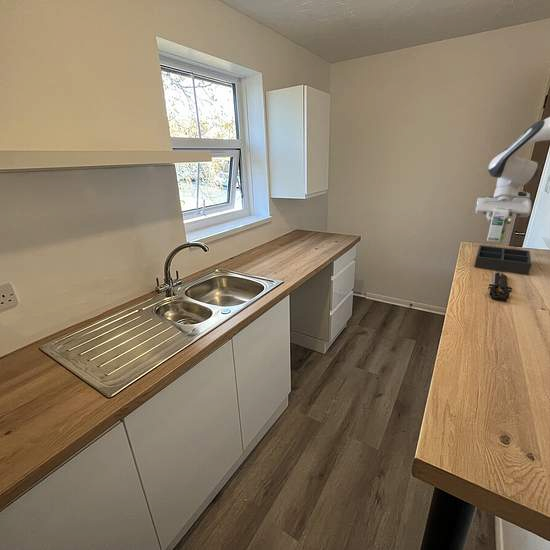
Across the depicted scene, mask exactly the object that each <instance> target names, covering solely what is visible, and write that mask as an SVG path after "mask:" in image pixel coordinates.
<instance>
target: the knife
mask: <svg viewBox="0 0 550 550" xmlns="http://www.w3.org/2000/svg"><path fill="white" fill-rule="evenodd" d="M499 288H500V289H501V290H499ZM488 289H490V290H489V296H490V299H491V300H495V301H500V302H501V301H503V302H506V301H508V299H509V298H510V293H512V290H513V287H511V286H508V275H506V274H504V273H501V271H498V272H495V273H493V280H492V283H489V284H488Z"/></svg>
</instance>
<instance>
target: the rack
mask: <svg viewBox="0 0 550 550" xmlns="http://www.w3.org/2000/svg"><path fill="white" fill-rule="evenodd" d="M531 267H532V258H531V252H530V250H527V249H526V250H525V249H517V248H516V249H515V248H508V247H507V248H506V247H498V246H497V247H496V246H489V245H481V244H480V245H479V246H478V250H477V253H476V256H475V261H474V267H473V268H476V269H483V270H491V271H497V272H503V273H510V274H518V275H523V276H529V273H530V270H531Z"/></svg>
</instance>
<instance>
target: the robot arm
mask: <svg viewBox="0 0 550 550" xmlns="http://www.w3.org/2000/svg"><path fill="white" fill-rule="evenodd" d="M545 141H550V116H548V117H547V118H545V119H542V120H538V121H536V122H534V123H533V124H532V125H531V126H529V127H528V128H527V129H526V130H525V131H524V132H523V133H521V134H520V135H519V136H518V137H517V138H516V139H514V141H513V142H511V143H510V144H509V145H508V146H507V147H506V148H504V150H502V151H501V152H499V153H498V154H497V155H495V156H494V157H493V158H492V159H491V161H490V162H489V164H488V166H487V171H488V173H489V175H490V176H491V177H492V178H497V180H496V182H495V183H496V184H495V186H496V187H495V190H494V192H493V196H486V195H483V196H479V197H478V198H477V199H476V206H475V211H474V212H475V214H476V215H483V216H485V217H486V219H487V223H490V224H491V220H492V217H491V216H493V211H494V209H495V208H507V209H511V210H510V214H509V217H510V218H508V221H507V225H512V222H513V221H514V220H515V219H516V218H528V217H529V216H530V215H531V213H532V200H531V199H530V198H531V193H529V192H527V191H523V190H519V189H520V188H523V187H525V186H527V185H529V184H531V183H533V182H534V181H535V180H536V179H537V177H538V175H539V173H540V165H539V163H538V162H537V161H534V160H531V159H528V158H523V157H520V156H519V157H518V156H517V155H519V154H520V153H521V152H522V151H524V150H525V149H526V148H528V146H529V145H531V144H534V143H538V142H545Z"/></svg>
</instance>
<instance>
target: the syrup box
mask: <svg viewBox="0 0 550 550" xmlns="http://www.w3.org/2000/svg"><path fill="white" fill-rule="evenodd" d="M510 210H511V209H507V208H495V209H494V211H493V215H491V218H492V220H491V223H490V225H489V230H488V234H487V238H486V242H495V243H502V242H503V240H504V237H505V234H506V230H507V226H508V224H507V221H508V219H510V218H509V217H510V216H509V214H510Z"/></svg>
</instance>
